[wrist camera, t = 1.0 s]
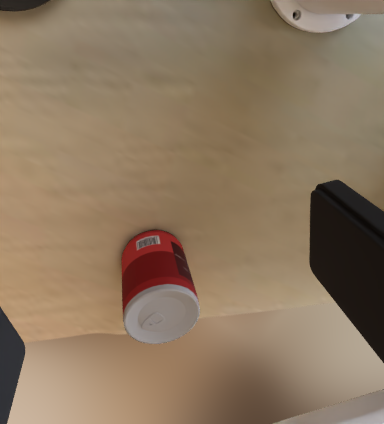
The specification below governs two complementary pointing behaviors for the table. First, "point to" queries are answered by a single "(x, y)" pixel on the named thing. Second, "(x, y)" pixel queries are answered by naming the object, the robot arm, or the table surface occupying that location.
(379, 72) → the table surface
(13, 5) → the lid
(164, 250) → the canned food
